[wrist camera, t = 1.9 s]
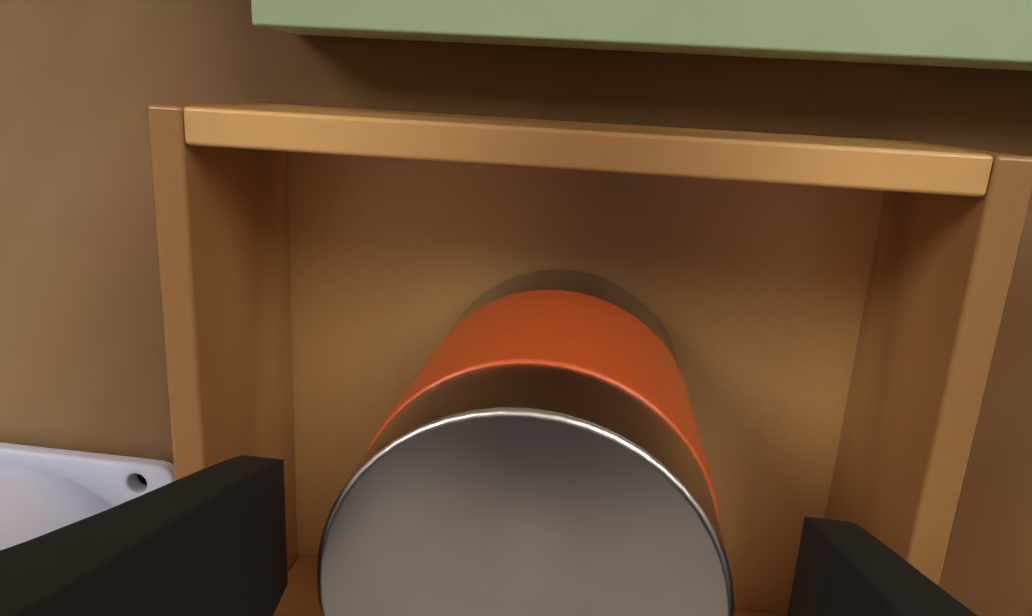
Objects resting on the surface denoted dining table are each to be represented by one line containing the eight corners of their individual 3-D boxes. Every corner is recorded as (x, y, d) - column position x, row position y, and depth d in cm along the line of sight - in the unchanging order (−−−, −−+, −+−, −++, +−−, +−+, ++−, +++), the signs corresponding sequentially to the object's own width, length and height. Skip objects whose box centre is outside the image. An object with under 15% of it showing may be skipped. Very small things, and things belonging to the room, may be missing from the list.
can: (435, 482, 17) (314, 748, 10) (442, 257, 16) (305, 384, 9) (668, 507, 17) (710, 807, 10) (696, 277, 15) (769, 429, 8)
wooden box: (284, 560, 19) (189, 694, 15) (269, 102, 16) (144, 103, 12) (823, 626, 18) (890, 795, 13) (916, 141, 15) (1042, 157, 10)
